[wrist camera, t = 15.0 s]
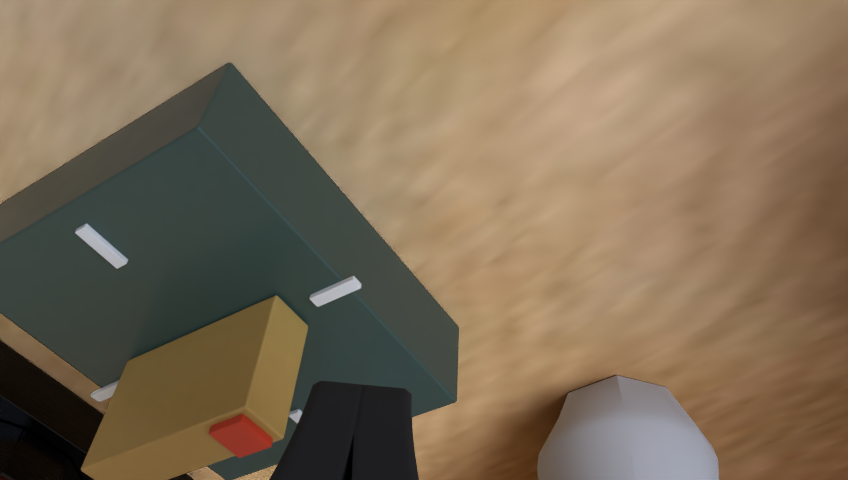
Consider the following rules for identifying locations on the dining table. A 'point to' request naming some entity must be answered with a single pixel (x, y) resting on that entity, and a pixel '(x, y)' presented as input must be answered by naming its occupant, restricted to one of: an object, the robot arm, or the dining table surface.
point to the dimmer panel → (216, 255)
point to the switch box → (42, 424)
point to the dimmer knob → (202, 397)
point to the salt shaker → (625, 436)
